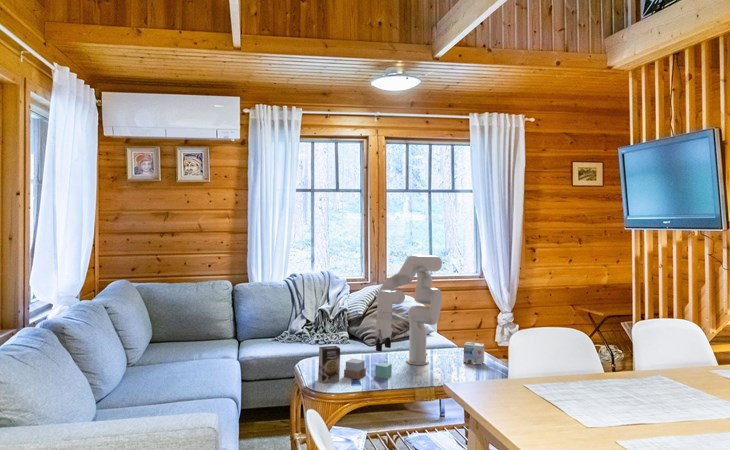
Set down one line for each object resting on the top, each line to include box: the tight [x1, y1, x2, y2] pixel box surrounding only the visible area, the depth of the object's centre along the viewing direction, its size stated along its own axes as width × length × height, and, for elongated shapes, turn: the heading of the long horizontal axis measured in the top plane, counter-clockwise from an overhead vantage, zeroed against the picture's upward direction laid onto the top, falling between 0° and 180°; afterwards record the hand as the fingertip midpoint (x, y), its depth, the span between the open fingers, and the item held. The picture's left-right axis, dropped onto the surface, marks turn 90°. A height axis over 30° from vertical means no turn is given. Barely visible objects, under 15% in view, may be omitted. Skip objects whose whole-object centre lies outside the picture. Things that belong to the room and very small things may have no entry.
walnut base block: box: [343, 367, 367, 381], centre depth 244 cm, size 8×8×4 cm
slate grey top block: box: [345, 358, 366, 372], centre depth 244 cm, size 7×7×4 cm
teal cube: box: [374, 362, 393, 380], centre depth 246 cm, size 6×6×6 cm
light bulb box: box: [462, 341, 485, 365], centre depth 275 cm, size 11×7×11 cm, turn 68°
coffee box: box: [317, 345, 341, 384], centre depth 237 cm, size 9×6×16 cm
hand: (383, 349), depth 245 cm, fingers open, 9 cm apart
